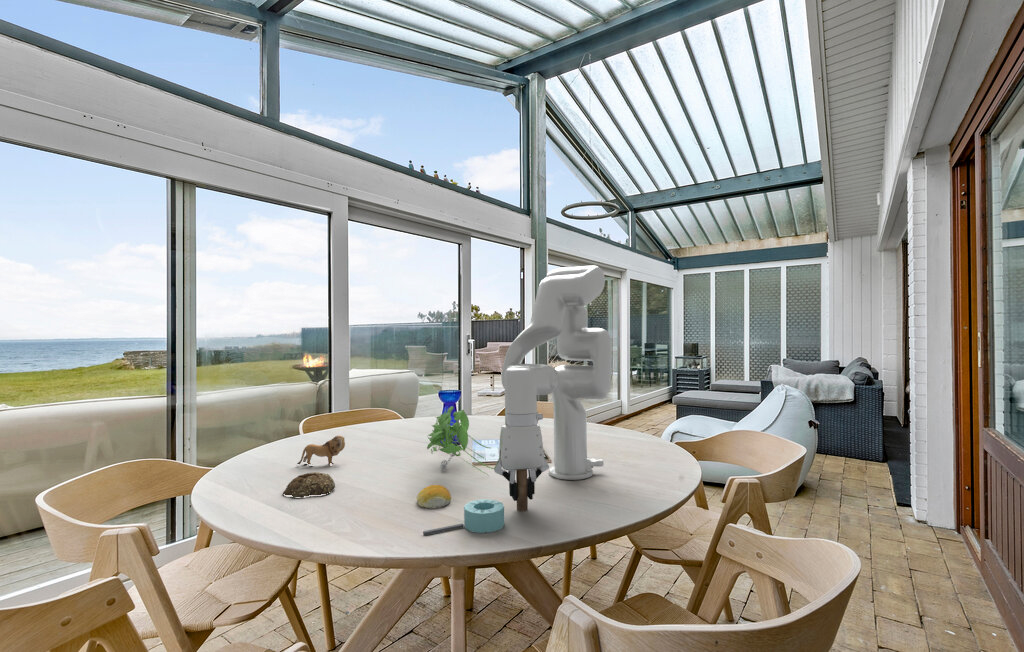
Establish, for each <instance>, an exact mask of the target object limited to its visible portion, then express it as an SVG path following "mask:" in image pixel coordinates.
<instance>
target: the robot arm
mask: <svg viewBox="0 0 1024 652" xmlns="http://www.w3.org/2000/svg"><path fill="white" fill-rule="evenodd" d="M605 283H606V278H605V273H604V271H603V269H602V268H601V267H599V266H597V265H583V266H568V267H559V268H555V269H552V270H550V271H548V273H546V277H544V278H543V279H542V280H541V281H540V283H539V285H538V287H537V291H536V296H535V301H534V304H533V308H532V314H531V318H530V323H529V325H528V326H527V327H526V328H525V329H524V330H522V331H521V332H520V333H519V334H518V335H517V336H516V338H515V339H514V340H513V341H512V342H511V343H510V345H509V347H508V349H507V351H506V353H505V357H504V362H503V365H502V370H501V379H500V380H501V385H502V387H503V389H504V423H505V424H503V425H501V429H500V435H499V443H498V444H499V446H498V459H497V461H496V463H495V465H494V467H493V468H494V469H493V471H494V473H496V474H498V475H500V476H502V477H503V478H505V479H506V480H507V482H508V483H509V484H508V486H509V491H508V493H509V496H510V497H511V498H512V500H513V501H514V502H517V483H516V470H524V469H527V487H528V500H530V501H531V500H533V499H534V497H533V496H534V495H536V494H535V491H536V490H535V489H536V487H535V485H536V481H537V479H538V478H539V477H540V476H541V474H542V473H544V472H546V471H547V470H548V474H549V475H550V476H552V477H553V478H555V479H560V480H567V481H569V480H571V481H574V480H584V479H589V478H591V477H592V476H593V474H594V473H593V472H594V471H593V468H594V467H595V468H599V467H604V460H603V459H596V458H589V457H588V443H587V442H588V435H587V433H588V432H587V431H588V430H587V429H588V427H587V425H588V424H587V418H588V417H587V411H586V409H585V406H584V405H583V403H582V402H581V401H580V399H581V400H582V399H583V400H585V399H586V400H604V399H606V398H607V397H608V396H609V394H610V391H611V385H612V383H611V382H612V359H613V357H612V356H613V343H612V339H611V336H610V333H609V332H608V331H607V330H606V329H604V328H600V327H588V324H587V323H588V311H587V309H586V307H585V306H587V305H589V304H591V303H592V302H593V301H594V300H595V299H596V298H597V297H599V296H600V295H601V294H602V292H603V290H604V288H605V285H606V284H605ZM556 338H557V340H556V351H557V355H558V357H559V358H560V359H562V360H566V361H577V362H578V361H579V362H580V361H583V362H584V361H585V362H592V364H593V365H582V364H562V365H559V366H555V368H554V367H553V366H552V365H549V364H541V363H535V364H534V363H523V360H524V359H525V357H526V356H527V355H528V354H529V353H530V352H531V351H532V350H534V349H535V348H538V347H539V346H541V345H543V344H546V343H548V342H550V341H553V340H554V339H556ZM547 395H551V396H552V404H553V407H552V408H553V449H554V450H553V452H554V453H553V459H554V460H553V461H554V463H553V464H554V465H553V466H551V467H550V465H549V463H548V462H547V459H546V458H545V455H544V452H545V451H544V442H543V435H542V430H541V426H540V424H539V421H540V420H544V414H543V413H539V412H538V401H537V400H538V398H537V397H538V396H547Z"/></svg>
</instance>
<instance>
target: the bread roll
mask: <svg viewBox="0 0 1024 652" xmlns="http://www.w3.org/2000/svg"><path fill="white" fill-rule="evenodd" d="M451 500H452V496H451V493H450V491H449V490H448V489H447V488H446V487H445V486H443V485H440V484H431V485H428V486H426V487H424V488H423V489H422V490H420V491H419V492H418V493H417V496H416V502H417V504H418V505H419V506H420V507H421V508H424V507H425V508H424V509H435V508H434V507H439V508H443V507H442V506H444V507H446V506H447V505H449V504H450V503H451ZM445 505H446V506H445Z"/></svg>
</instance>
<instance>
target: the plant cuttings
mask: <svg viewBox="0 0 1024 652" xmlns="http://www.w3.org/2000/svg"><path fill="white" fill-rule="evenodd" d="M453 410H454V405H452V406H449V407H448V408H446V409H445V410H444V412H443V413H442V414H440V415H439V416H438V415H437V416H435V418H436V422H435V424H432V425H431V427H433V429H432V432H431V433H430V434H428V435H427V438H428V440H429V443H428V444H427V447H426V450H427V451H428V450H429V449H430V448H431V449H430V452H431V454H433V452H439V451H440V452H444V453H446V454H448V455H450V457H449V458H448V460H446V459H444V460H441V461H440V463H441V464H440V467H439V468H440V469H441V471H444V470H446V468H447V465H448V464H449V463H450V462H451V460H452V458H453V457H458V458H460V457H461V456H462V454H461V452H460V451H463V452H464V453H466V454H467V455H468V456H470V457H471V458H472V459H473V460H475V461H476V462H478V463H479V464H480V465H482V466H484V467H486V468H488V469H491V470H494V467H490V466H489V465H487V464H484V463H483V462H481V461H480V460H479V459H477V458H475V457H474V456H473V455H471V454H470V453H469V452H468V451H466V449H468V450H470V451H471V452H473V453H474V454H476V455H477V456H479V457H480V458H482V459H484V458H485V457H484V456H482V455H480V454H479V453H478V452H475V451H474V450H472V449H470V448H469V447H468V443H469V438H470V439H471V440H473V441H474V442H475V443H476V444H478V445H479V446H481V447H484V448H486V449H492V447H488V446H486V445H483V444H481V443H479V442H478V441H477V440H476V439H474V438H473V437H471V436H470V435H469V434H468V430H469V428H470V420H469V417H468V414H466V412H465V410H464V409H462V410H458V411H457V410H456V411H454V412H453ZM452 412H453V413H452ZM451 415H452V416H453V418H452V416H451ZM453 420H455V422H453ZM459 421H460V422H459ZM451 424H452V425H451ZM457 443H459V444H460V445H459V444H457ZM438 447H439V448H438ZM437 448H438V449H437ZM457 453H458V454H457ZM460 459H461V460H463V461H465V462H466V463H467V464H469V465H471V466H472V467H473V468H475V469H477V470H478V471H480V472H482V473H483V474H485V475H487V476H489V477H490V475H489V474H487V473H486V472H484V471H483V470H481V469H479V468H478V467H476V466H474V465H472V464H471V463H469V462H467V461H466V460H464V458H460Z"/></svg>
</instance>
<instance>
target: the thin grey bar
mask: <svg viewBox="0 0 1024 652" xmlns="http://www.w3.org/2000/svg"><path fill="white" fill-rule="evenodd" d="M463 528H464V529H465V525H464V523H457V524H453V525H448V526H443V527H438V528H433V529H428V530H423V531H422V534H423V536H428V535H433V533H435V534H438V532H439V533H444V532H449V531H454V530H459V529H463ZM443 531H444V532H443Z"/></svg>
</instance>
